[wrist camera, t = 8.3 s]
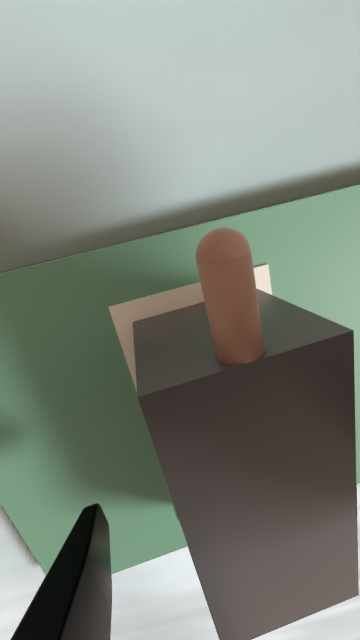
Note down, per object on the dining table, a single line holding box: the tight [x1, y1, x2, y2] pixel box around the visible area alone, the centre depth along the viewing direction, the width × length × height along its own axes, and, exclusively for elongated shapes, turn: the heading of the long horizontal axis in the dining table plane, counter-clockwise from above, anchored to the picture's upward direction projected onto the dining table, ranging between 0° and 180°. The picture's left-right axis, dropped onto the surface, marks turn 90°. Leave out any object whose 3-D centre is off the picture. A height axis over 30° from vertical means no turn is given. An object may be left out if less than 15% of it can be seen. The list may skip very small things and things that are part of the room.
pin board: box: [0, 184, 360, 575], centre depth 10 cm, size 18×14×4 cm
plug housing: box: [133, 227, 358, 640], centre depth 8 cm, size 4×12×4 cm, turn 13°
